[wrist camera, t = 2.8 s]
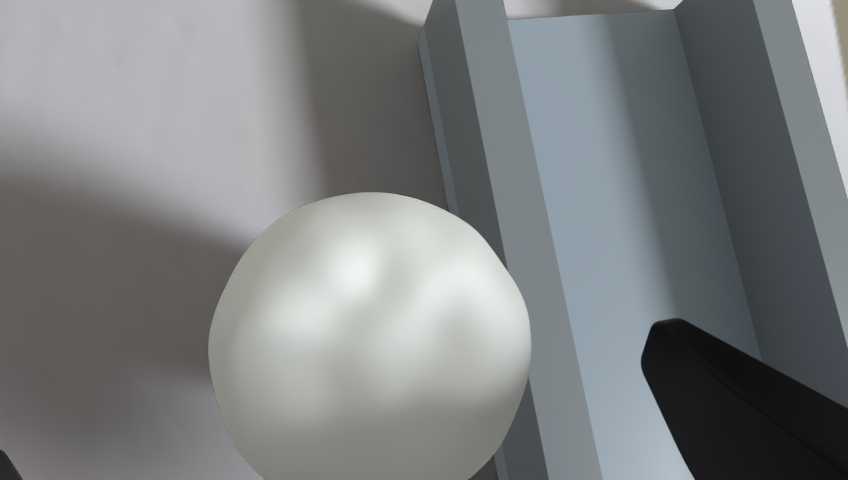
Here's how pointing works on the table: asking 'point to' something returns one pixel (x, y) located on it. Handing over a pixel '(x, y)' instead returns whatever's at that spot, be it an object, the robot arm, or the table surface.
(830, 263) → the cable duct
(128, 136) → the table surface
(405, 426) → the milkshake
